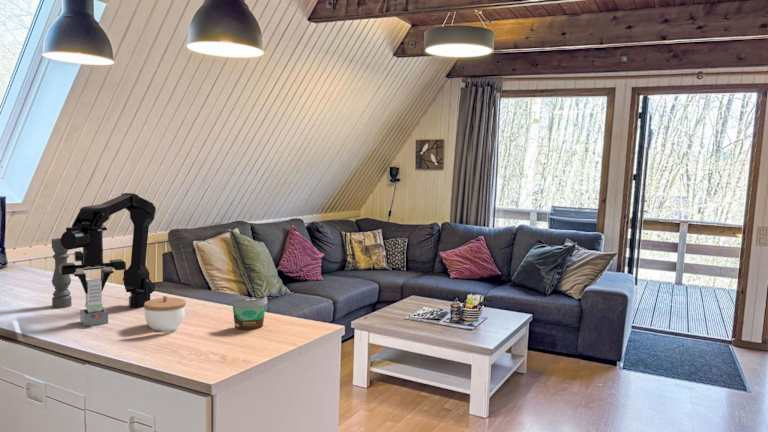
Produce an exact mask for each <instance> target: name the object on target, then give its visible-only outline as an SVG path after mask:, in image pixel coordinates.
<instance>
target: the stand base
mask: <svg viewBox="0 0 768 432" xmlns="http://www.w3.org/2000/svg"><path fill="white" fill-rule="evenodd" d="M79 320H80V323H81V325H82V326H83V327H93V326H100V325H107V324H109V311H108V310H107V309H106V308H105V307H103V306H102V312H98V313H90V314H88V313H87V312H86V308H85V309H80V310H79Z"/></svg>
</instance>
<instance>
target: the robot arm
mask: <svg viewBox="0 0 768 432" xmlns="http://www.w3.org/2000/svg"><path fill="white" fill-rule="evenodd" d="M124 209H125V210H126V211H128V212H129V219H130V220H131V222H132V224H133V233H132V234H133V235H132V246H131V258H130V265H129V266H128V268H127V264H126V262H125V261H124V260H123V259H121V258H119V259H116V258H115V259H110V260H109V262H104V247H103V244H104V243H103V242H104V241H103V238H104V237H103V231H104V232H105V231H108V228H107V227H106V226H105V225H104V224H105V223H106V222H107V221H109V219H110V217H111V216H112V215H114V214H116V213H118V212H120V211H123V210H124ZM155 216H156V206H155V205H154V203H153V202H152V201H149V200H147V199H145V198H143V197H141V196H139V195H138V194H137V193H133V192H132V193H131V192H124V193H121V195H118V196H116V197H113V198H111V199H110V200H107V201H105V202H103V203H99V204H92V205H85V206H82V207H81V208H79V211H78V214H77V216H76V217H75V219H74V221H73V223H72V225H71V226H70V227H66V228H65V231H64V232H63V233H62V235H61V237H60V238H61V244H62V246H63V247H64V248H65V249H67V250H68V251H70V250H77V249H80V248H82V251H81V250H78V251H74V262H76V263H77V262H80V264H75V263H74V262H67V263H61V264H60V265H59V272H60V273H61V275H67V274H69V275H74V277H77V278H78V279H79V281H80V284H81V285H82V289H83V292H84V294H85V295H86V294H87V282H86V280H87V275H86V273H85V272H84V271H89V270H90V271H92V270H100V280H101V281H102V292H103V291H104V288H105V286H106V284H107V281H108V279H109V277H110V276H111V274H114V273H115V272H114V271H113V269H114V270H115V271H123V278H122V282H123V285H124V289H125V292H126V293H130V296H128V307H129V308H130V309H132V308H133V309H135V308H137V309H138V308H139V309H141V308H144V303H145V302H146V301H149V300H151V294H152V293H154V292H155V288H156V285H155V284H154V283H153V281H152V280H151V279H150V272H149V270H148V268H147V266H146V262H147V253H148V252H147V251H148V249H147V248H148V239H149V229H150V228H149V227H150V225H151V224H152V223H153V221H154V220H155Z"/></svg>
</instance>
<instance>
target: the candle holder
mask: <svg viewBox="0 0 768 432" xmlns="http://www.w3.org/2000/svg"><path fill="white" fill-rule="evenodd" d="M51 249H52V251H53V253H54V254H53V255H52V258H53V259H54V271H53V275H52V279H51V284H52V286H53V287H54V291H53V293H52V295H53V296H52V297H51V298H52V299H51V304H52V305H51V307H52V308H53V309H65V308H69V307H71V306H72V296H71V291H69V286H70V285H71V282H72V280H71V276H70V275H71V274H67V275H61V273H60V272H59V265H60V264H61V263H68V258H69V257H70V255H69V254H68V252H69V250H67V249H65V248H64V247H63V246H62V244H61V237H59V238H58V237H57V238H52V239H51Z"/></svg>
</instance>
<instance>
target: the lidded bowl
mask: <svg viewBox="0 0 768 432" xmlns="http://www.w3.org/2000/svg"><path fill="white" fill-rule="evenodd" d="M186 302H187V301H186V300H185V299H183V298H177V297H168V296H167V295H163V296H162V297H159V298H153V299H150V300H149V301H146V302H145V303H144V307H143V308H144V309H143V310H144V312H143V313H144V318H145V321H146V324H147V325H148V327H149V328H151V329H152V330H155V331H154V332H155V333H160V334H161V333H162V334H164V333H165V334H166V333H172V332H175V331H177V329H178V328H179V327H180V326H181V325H182V323H183V321H184V318H185V313H186V304H187V303H186Z"/></svg>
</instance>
